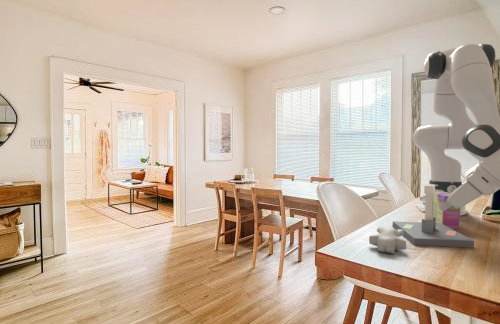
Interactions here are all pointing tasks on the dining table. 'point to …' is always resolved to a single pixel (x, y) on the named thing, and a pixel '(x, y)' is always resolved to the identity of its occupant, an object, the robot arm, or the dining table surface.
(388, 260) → the dining table surface
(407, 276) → the dining table surface
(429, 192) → the breaker lever
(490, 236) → the dining table surface
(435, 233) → the breaker panel
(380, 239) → the bunny figurine
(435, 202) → the box
